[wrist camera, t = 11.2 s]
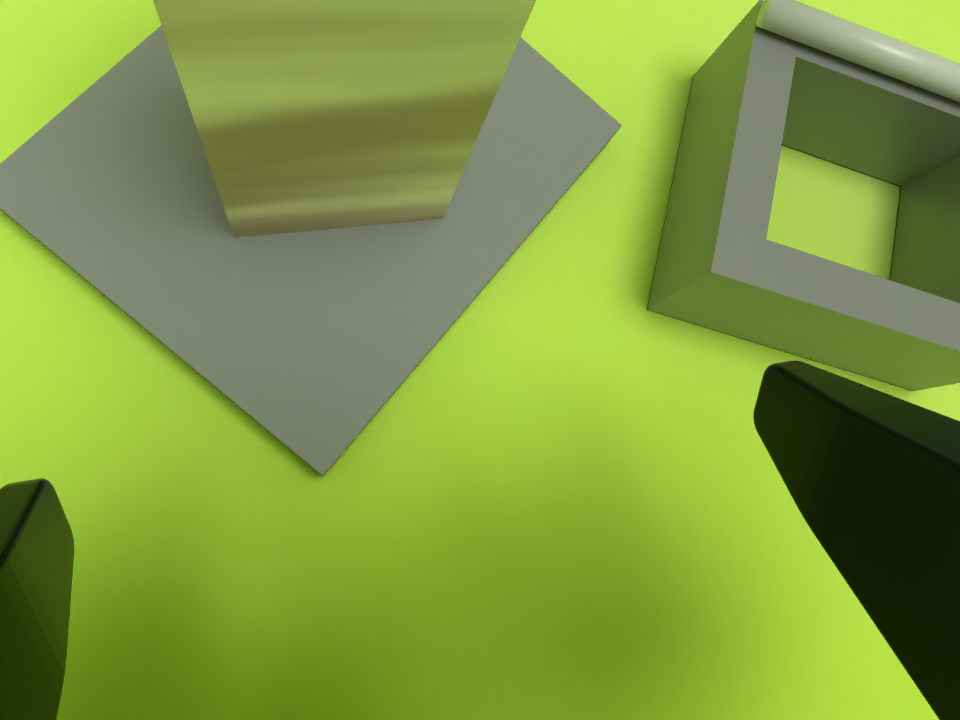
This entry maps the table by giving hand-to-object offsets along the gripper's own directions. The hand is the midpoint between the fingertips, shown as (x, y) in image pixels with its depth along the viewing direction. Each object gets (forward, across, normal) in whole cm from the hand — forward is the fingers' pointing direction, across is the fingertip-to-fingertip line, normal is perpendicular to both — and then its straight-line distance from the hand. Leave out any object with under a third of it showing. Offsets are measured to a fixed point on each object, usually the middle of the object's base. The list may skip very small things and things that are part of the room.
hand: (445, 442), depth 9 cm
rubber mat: (+12, 0, +1) cm, 12 cm away
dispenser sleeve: (+10, -13, +3) cm, 17 cm away
